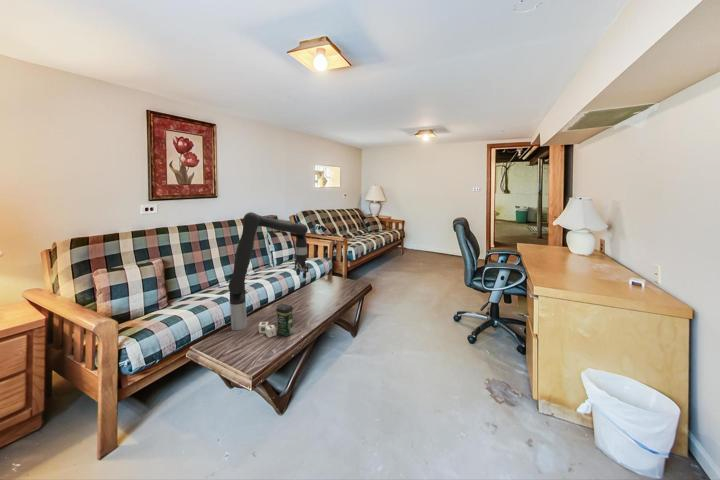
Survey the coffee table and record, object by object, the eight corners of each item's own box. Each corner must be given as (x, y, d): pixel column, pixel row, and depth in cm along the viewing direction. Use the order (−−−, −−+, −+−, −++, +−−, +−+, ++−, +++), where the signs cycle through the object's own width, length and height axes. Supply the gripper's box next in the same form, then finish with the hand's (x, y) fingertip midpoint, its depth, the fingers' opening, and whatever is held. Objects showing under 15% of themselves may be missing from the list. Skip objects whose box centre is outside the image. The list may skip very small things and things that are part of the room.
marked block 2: (268, 338, 174) (268, 330, 173) (265, 334, 179) (265, 326, 179) (277, 336, 177) (276, 328, 176) (273, 332, 182) (273, 324, 181)
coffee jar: (275, 334, 180) (273, 305, 176) (283, 328, 186) (282, 301, 183) (287, 337, 175) (286, 308, 172) (295, 332, 182) (294, 304, 179)
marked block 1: (259, 333, 180) (258, 325, 179) (260, 329, 185) (260, 321, 184) (267, 332, 181) (267, 325, 180) (268, 329, 186) (268, 321, 185)
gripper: (291, 252, 198) (291, 275, 200) (301, 255, 187) (301, 280, 190) (300, 250, 203) (300, 273, 205) (311, 254, 192) (311, 278, 195)
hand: (301, 276), depth 197 cm, fingers open, 8 cm apart
